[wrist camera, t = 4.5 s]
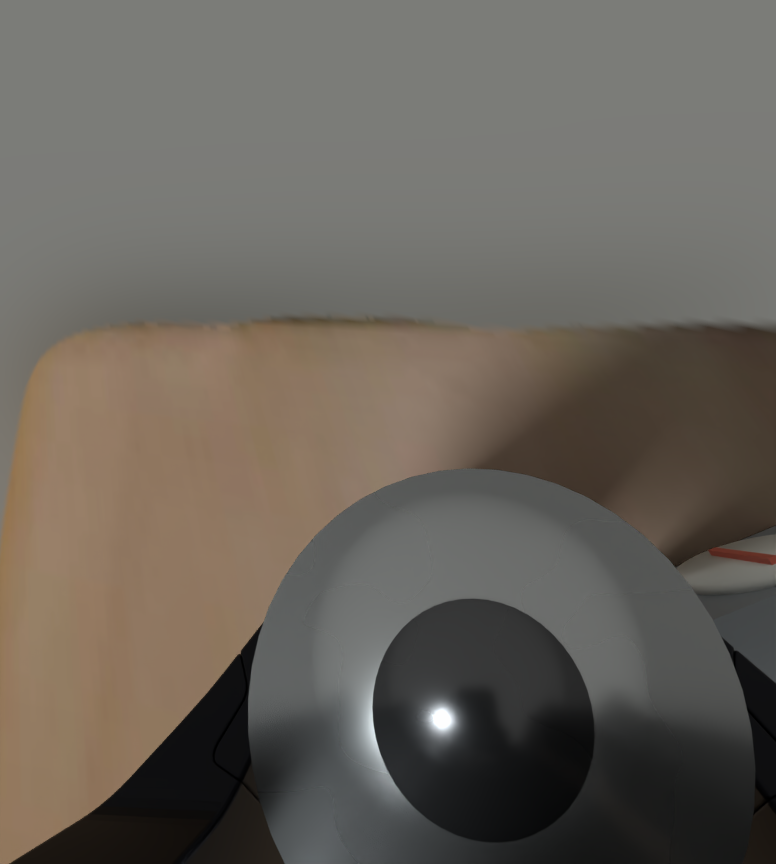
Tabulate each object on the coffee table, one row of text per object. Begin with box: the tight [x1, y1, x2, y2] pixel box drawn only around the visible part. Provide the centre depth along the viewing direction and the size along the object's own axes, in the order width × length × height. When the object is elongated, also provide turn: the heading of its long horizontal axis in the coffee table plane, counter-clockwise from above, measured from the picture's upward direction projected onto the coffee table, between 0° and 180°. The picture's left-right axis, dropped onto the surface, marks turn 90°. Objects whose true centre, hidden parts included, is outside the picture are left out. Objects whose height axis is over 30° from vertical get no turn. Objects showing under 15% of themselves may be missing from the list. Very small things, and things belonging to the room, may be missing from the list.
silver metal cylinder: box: [248, 469, 755, 864], centre depth 10 cm, size 5×5×12 cm
